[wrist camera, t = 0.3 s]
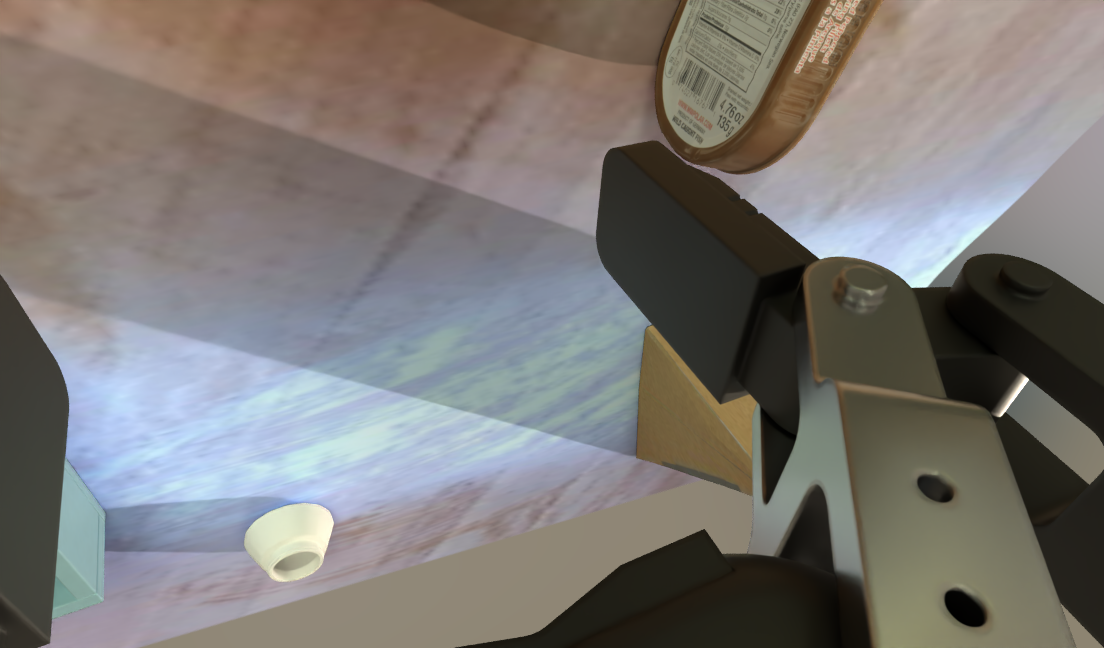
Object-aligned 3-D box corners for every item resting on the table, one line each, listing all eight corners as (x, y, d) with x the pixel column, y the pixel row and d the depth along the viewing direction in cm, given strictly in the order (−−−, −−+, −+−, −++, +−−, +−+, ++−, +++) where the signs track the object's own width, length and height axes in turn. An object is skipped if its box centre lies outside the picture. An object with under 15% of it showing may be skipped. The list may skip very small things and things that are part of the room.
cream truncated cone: (296, 486, 39) (224, 534, 39) (305, 528, 37) (230, 578, 37) (346, 515, 43) (280, 559, 43) (357, 555, 41) (288, 600, 41)
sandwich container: (633, 460, 55) (745, 630, 45) (641, 328, 44) (792, 514, 34) (721, 421, 57) (846, 575, 47) (750, 287, 46) (920, 450, 36)
